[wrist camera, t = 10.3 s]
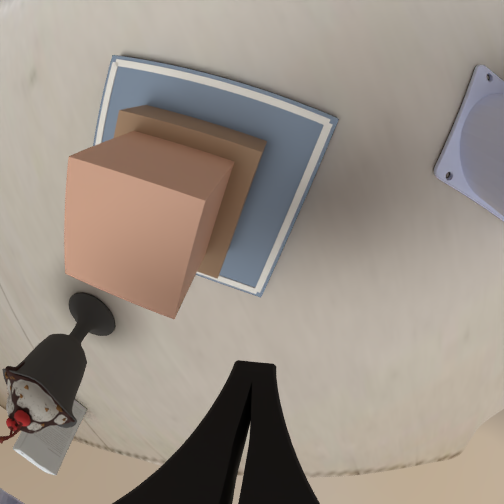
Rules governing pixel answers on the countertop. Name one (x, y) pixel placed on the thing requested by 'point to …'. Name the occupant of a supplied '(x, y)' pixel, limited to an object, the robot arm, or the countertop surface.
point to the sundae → (54, 372)
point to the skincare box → (49, 443)
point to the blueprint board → (242, 118)
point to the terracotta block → (141, 217)
